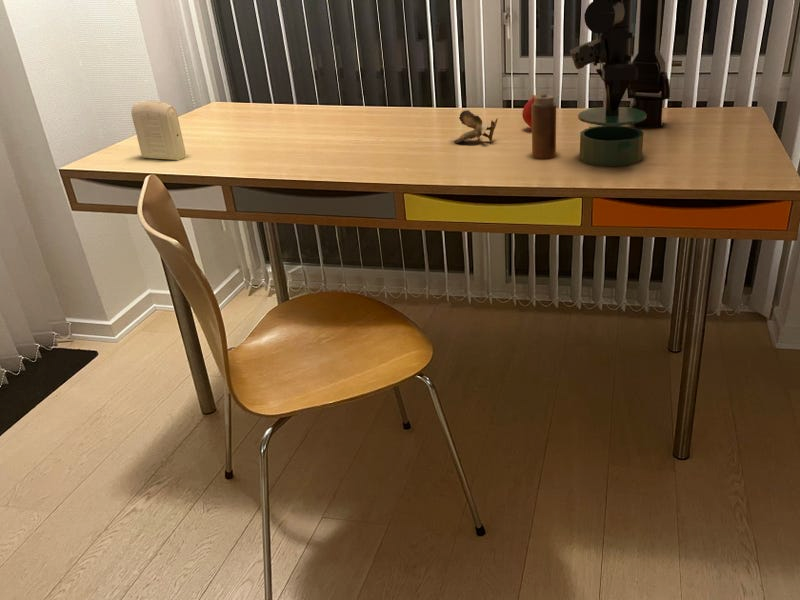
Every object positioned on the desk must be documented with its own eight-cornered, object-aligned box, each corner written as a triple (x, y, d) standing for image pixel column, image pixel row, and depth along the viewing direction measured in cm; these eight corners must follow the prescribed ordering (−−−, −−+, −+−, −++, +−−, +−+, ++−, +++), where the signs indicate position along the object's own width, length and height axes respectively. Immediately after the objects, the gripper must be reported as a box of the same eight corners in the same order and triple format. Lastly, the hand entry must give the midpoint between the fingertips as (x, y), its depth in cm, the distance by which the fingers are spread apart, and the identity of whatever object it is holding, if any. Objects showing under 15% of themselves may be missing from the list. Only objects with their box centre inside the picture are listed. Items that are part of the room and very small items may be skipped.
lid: (628, 109, 169) (630, 79, 166) (657, 124, 157) (660, 92, 154) (568, 116, 166) (568, 85, 163) (593, 131, 155) (594, 99, 151)
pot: (620, 143, 174) (622, 120, 172) (658, 165, 159) (659, 140, 157) (566, 149, 172) (566, 126, 169) (598, 173, 157) (599, 147, 154)
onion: (547, 126, 190) (547, 91, 186) (547, 132, 185) (547, 97, 181) (523, 126, 190) (522, 92, 186) (522, 133, 185) (521, 97, 181)
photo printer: (189, 155, 181) (177, 99, 174) (178, 161, 177) (164, 104, 171) (151, 153, 183) (137, 98, 177) (139, 159, 180) (124, 102, 174)
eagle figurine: (497, 130, 183) (459, 123, 184) (498, 108, 177) (459, 100, 178) (489, 156, 180) (451, 148, 181) (489, 134, 174) (450, 126, 175)
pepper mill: (554, 151, 171) (555, 90, 165) (556, 158, 167) (557, 95, 160) (531, 152, 171) (530, 91, 165) (532, 159, 167) (532, 96, 160)
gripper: (568, 21, 161) (567, 100, 169) (578, 35, 145) (577, 122, 153) (623, 18, 161) (620, 98, 169) (640, 32, 145) (635, 119, 152)
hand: (612, 109), depth 161 cm, fingers closed on lid, 3 cm apart
